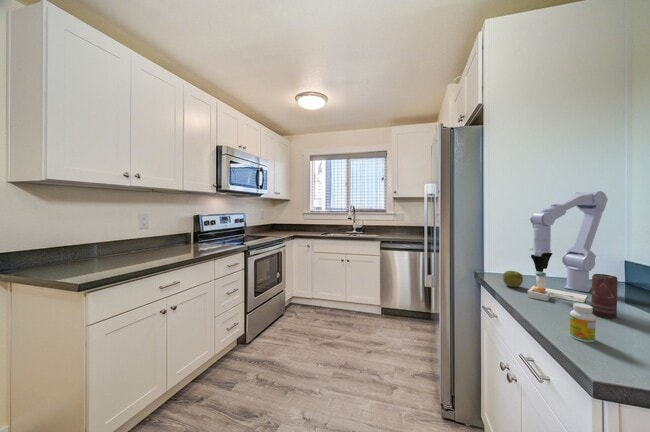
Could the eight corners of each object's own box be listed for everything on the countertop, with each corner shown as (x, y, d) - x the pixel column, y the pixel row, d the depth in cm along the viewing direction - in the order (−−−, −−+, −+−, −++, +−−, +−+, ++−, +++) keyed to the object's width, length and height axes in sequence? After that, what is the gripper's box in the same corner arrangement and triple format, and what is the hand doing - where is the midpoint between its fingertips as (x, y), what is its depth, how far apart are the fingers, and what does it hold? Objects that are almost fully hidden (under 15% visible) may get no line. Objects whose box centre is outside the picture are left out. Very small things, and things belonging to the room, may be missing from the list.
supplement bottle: (564, 334, 80) (565, 302, 79) (580, 332, 80) (581, 301, 80) (583, 343, 74) (584, 309, 74) (600, 342, 75) (601, 308, 74)
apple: (507, 289, 121) (507, 273, 121) (499, 283, 129) (499, 269, 128) (526, 289, 119) (526, 274, 119) (517, 284, 127) (517, 269, 127)
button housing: (531, 293, 115) (531, 287, 115) (550, 297, 110) (550, 291, 110) (527, 297, 111) (527, 291, 110) (547, 301, 106) (547, 294, 106)
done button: (534, 291, 113) (534, 285, 112) (545, 293, 110) (545, 287, 110) (532, 293, 110) (532, 287, 110) (543, 295, 108) (543, 289, 107)
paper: (533, 286, 124) (533, 285, 124) (587, 296, 110) (587, 295, 110) (526, 291, 117) (526, 291, 117) (583, 303, 103) (583, 302, 103)
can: (622, 319, 88) (624, 278, 87) (600, 318, 89) (601, 277, 89) (607, 312, 94) (608, 273, 93) (586, 311, 95) (587, 273, 95)
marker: (537, 289, 119) (536, 271, 119) (546, 290, 116) (546, 272, 116) (535, 290, 117) (535, 272, 117) (545, 292, 114) (544, 274, 114)
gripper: (534, 237, 123) (534, 265, 124) (526, 240, 114) (525, 271, 115) (554, 238, 118) (553, 268, 119) (547, 241, 109) (546, 274, 109)
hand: (541, 270), depth 116 cm, fingers open, 7 cm apart
